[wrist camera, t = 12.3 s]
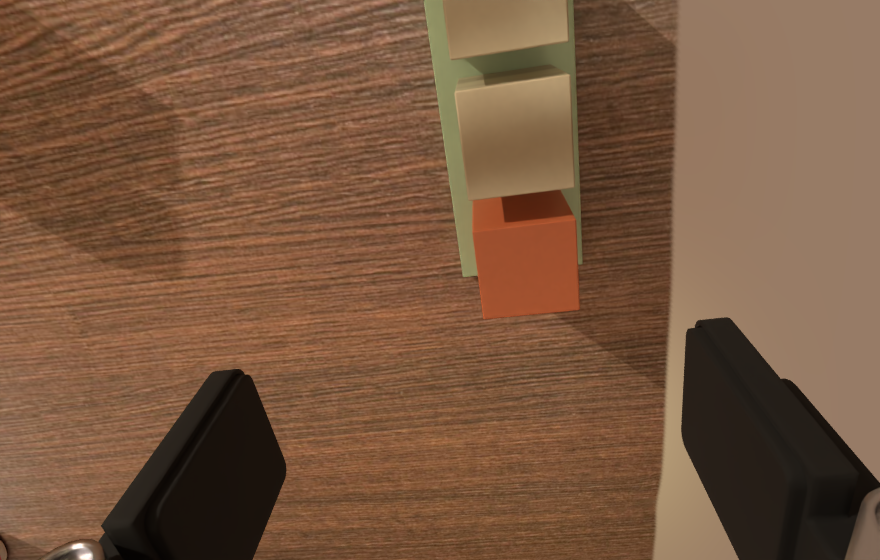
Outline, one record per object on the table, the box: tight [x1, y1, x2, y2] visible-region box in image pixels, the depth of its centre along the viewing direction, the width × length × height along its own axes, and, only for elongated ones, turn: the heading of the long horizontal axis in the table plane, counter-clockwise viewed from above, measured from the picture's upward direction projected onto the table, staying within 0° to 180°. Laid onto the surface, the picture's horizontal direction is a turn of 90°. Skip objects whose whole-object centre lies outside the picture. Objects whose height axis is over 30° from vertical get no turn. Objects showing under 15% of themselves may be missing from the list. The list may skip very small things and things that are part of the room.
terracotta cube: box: [472, 190, 580, 319], centre depth 23 cm, size 4×4×5 cm
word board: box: [424, 0, 583, 277], centre depth 22 cm, size 15×6×6 cm, turn 8°
